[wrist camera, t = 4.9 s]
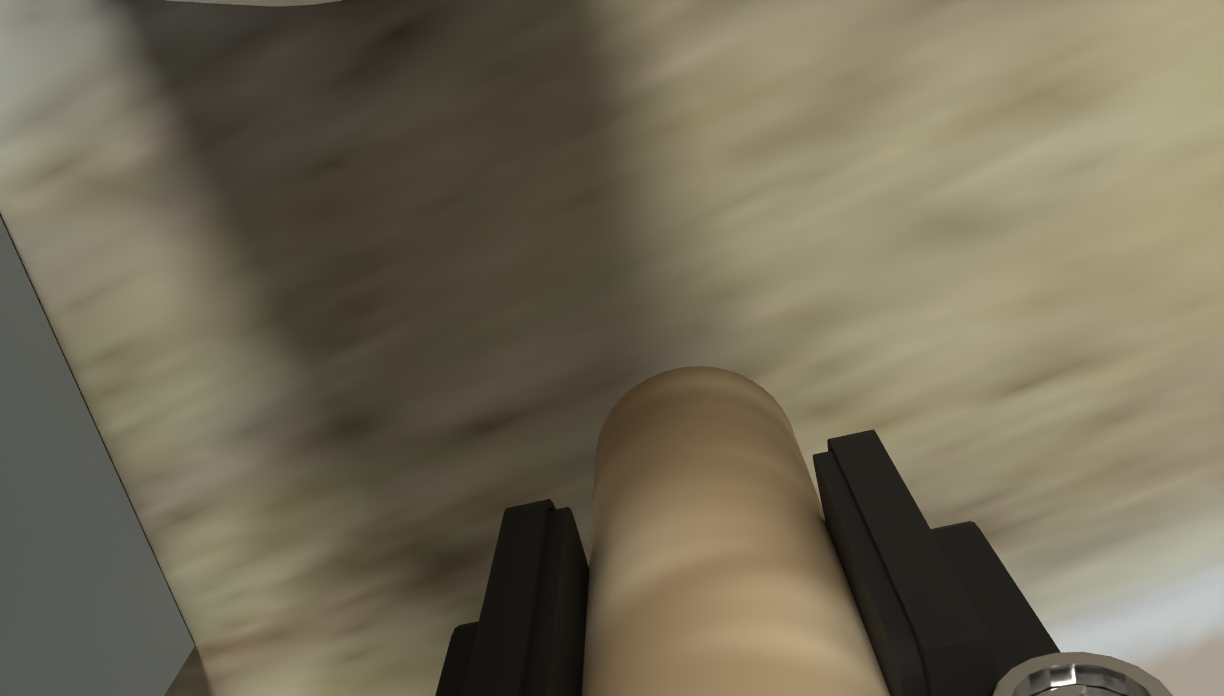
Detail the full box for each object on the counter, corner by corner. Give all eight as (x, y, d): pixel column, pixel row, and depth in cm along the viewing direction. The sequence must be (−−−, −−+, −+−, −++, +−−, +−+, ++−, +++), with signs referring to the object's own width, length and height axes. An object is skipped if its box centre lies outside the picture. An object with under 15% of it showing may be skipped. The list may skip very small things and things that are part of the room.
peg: (775, 345, 14) (1079, 1067, 5) (812, 524, 15) (1123, 1411, 6) (573, 391, 14) (477, 1157, 5) (622, 563, 15) (618, 1470, 6)
